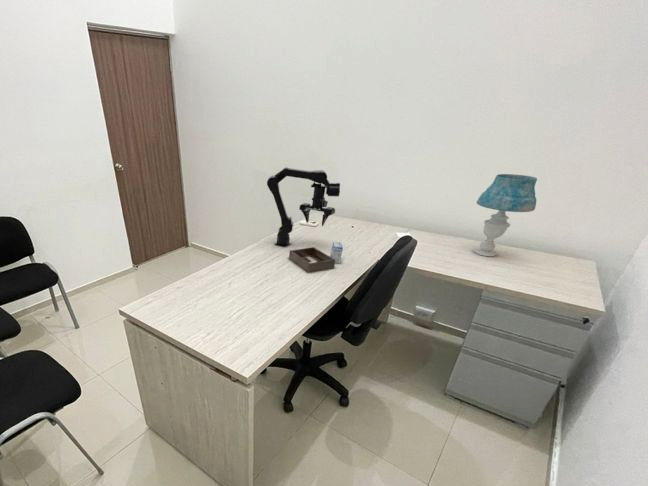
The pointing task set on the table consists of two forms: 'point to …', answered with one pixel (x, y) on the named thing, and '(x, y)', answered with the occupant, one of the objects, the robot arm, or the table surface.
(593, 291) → the table surface
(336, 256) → the medicine box
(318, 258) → the crate
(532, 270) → the table surface
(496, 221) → the table lamp
